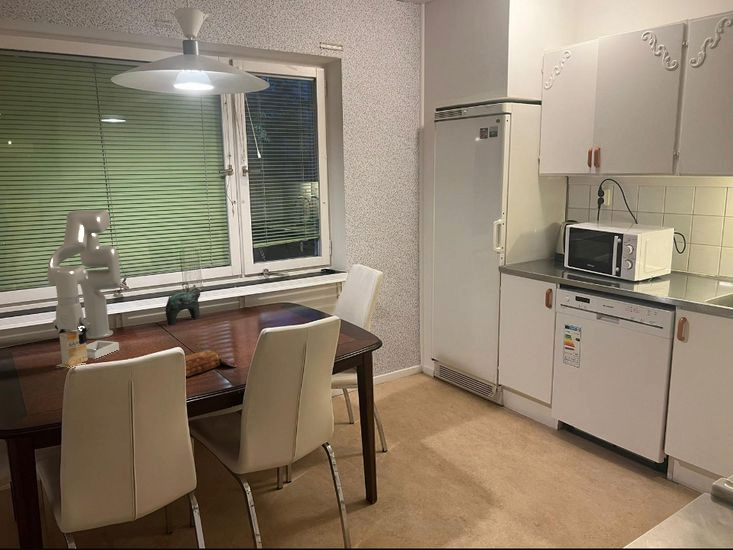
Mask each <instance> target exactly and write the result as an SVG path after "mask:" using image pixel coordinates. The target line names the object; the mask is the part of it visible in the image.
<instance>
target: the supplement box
mask: <svg viewBox="0 0 733 550" xmlns="http://www.w3.org/2000/svg"><path fill="white" fill-rule="evenodd" d="M81 331H82V329H81ZM59 336H60V340H59V344H60V352H61V362H62V364H63V365H66V366H72V365H75V364H78V363H81V362H84V361H87V360H88V358H87V347H86V345H87V342H86V343H83V344H79V332H78V331H77V330H67V331H66V332H64V333H60V334H59V333H58V337H59Z"/></svg>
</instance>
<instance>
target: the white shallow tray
mask: <svg viewBox="0 0 733 550" xmlns="http://www.w3.org/2000/svg"><path fill="white" fill-rule="evenodd" d="M86 347H87V358H93V359H96V358H99V357H101V356H104V355H107V354H109V353H111V352H114V351H116V350H118V351H120V345H119V342H117V341H109V340H108V341H107V340H96V341H94V342H91V343H88V344H86ZM97 349H98V350H97ZM116 352H117V351H116ZM114 353H115V352H114ZM111 354H112V353H111ZM109 355H110V354H109ZM107 356H108V355H107ZM104 357H105V356H104Z"/></svg>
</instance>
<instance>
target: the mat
mask: <svg viewBox="0 0 733 550" xmlns="http://www.w3.org/2000/svg"><path fill="white" fill-rule="evenodd" d="M81 364H86V363H82V362H81V363H78V364H75V365H81ZM75 365H72V366H75ZM55 366H60V367H67V368H66V369H68V368H70V367H72V366H70V367H69V366H66V365H63V364H62V363H59V364H57V365H55Z"/></svg>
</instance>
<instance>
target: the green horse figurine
mask: <svg viewBox="0 0 733 550" xmlns="http://www.w3.org/2000/svg"><path fill="white" fill-rule="evenodd" d="M185 284H186V285H187V286H185V289H186V290H185V291H180V290H175V291H173V292H171V293H170V294H169V296H168V300H167V302H166V305H165V315H166V316H165V317H166V320H167V326H171V325H172V326H175V324H176V325H177V316H178V315H179V313H180V312H182V311H183V310H188V312H189V314H190V317H191V319H192V318H194V319H193V320H197V319H196V318H198V317H200V304H199V298H200V297H201V290H200V288H198V287H197V286H196V284H193V286H191V287H189V286H190V285H189V283H187V282H183V283H182V284H181V286H182V287H183V286H184V285H185ZM198 319H199V318H198Z"/></svg>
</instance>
